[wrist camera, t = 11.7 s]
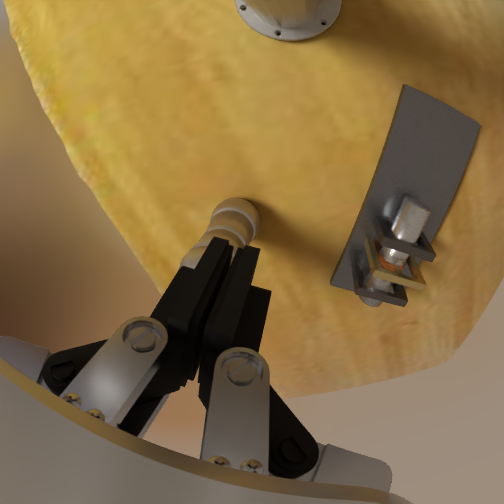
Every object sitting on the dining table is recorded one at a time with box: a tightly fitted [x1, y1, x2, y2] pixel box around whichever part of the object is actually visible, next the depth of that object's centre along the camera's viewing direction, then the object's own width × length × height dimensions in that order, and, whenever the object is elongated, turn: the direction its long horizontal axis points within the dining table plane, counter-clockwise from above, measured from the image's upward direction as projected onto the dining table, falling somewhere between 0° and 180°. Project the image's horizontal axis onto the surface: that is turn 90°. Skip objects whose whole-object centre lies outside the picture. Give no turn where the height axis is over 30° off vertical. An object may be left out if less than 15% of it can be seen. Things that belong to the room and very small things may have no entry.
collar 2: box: [352, 263, 408, 307], centre depth 39 cm, size 1×8×6 cm, turn 79°
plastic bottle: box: [179, 198, 260, 269], centre depth 34 cm, size 6×7×20 cm
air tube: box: [359, 196, 431, 307], centre depth 37 cm, size 16×4×4 cm, turn 169°
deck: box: [330, 84, 481, 294], centre depth 36 cm, size 31×12×1 cm, turn 169°
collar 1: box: [373, 216, 436, 262], centre depth 35 cm, size 1×8×6 cm, turn 78°
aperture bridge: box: [364, 238, 426, 291], centre depth 36 cm, size 1×8×8 cm, turn 78°
